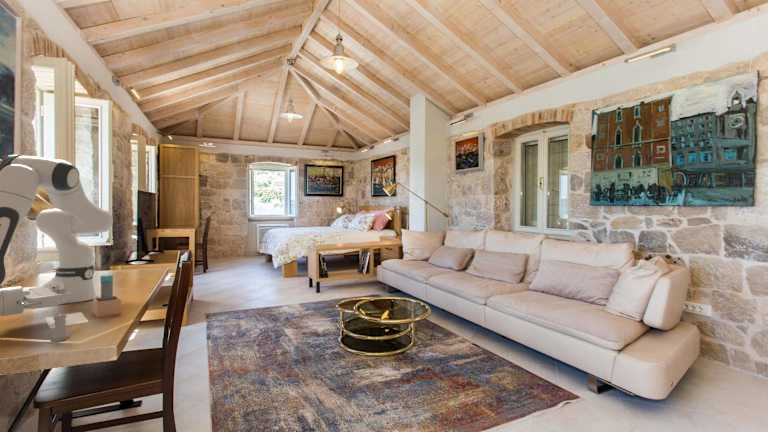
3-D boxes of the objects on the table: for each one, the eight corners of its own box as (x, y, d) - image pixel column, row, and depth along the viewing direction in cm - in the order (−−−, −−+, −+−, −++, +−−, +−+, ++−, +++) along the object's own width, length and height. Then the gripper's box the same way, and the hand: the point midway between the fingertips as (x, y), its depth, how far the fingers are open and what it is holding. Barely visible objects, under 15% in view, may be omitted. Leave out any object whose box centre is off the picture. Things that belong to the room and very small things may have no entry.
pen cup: (93, 314, 139) (93, 298, 139) (116, 310, 144) (116, 295, 144) (96, 318, 134) (96, 302, 134) (120, 314, 139) (120, 298, 139)
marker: (98, 314, 137) (98, 276, 136) (104, 311, 140) (104, 274, 140) (109, 314, 137) (109, 276, 137) (115, 311, 141) (115, 274, 141)
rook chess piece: (58, 337, 115) (58, 311, 115) (73, 337, 115) (73, 311, 115) (46, 343, 110) (46, 316, 110) (62, 342, 111) (62, 316, 111)
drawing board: (37, 319, 132) (37, 317, 132) (83, 312, 141) (83, 310, 141) (41, 333, 118) (41, 331, 118) (93, 324, 128) (93, 322, 128)
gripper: (21, 295, 112) (78, 288, 123) (7, 286, 124) (60, 280, 135) (21, 316, 112) (79, 306, 124) (7, 305, 124) (60, 297, 136)
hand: (69, 292), depth 130 cm, fingers open, 8 cm apart
